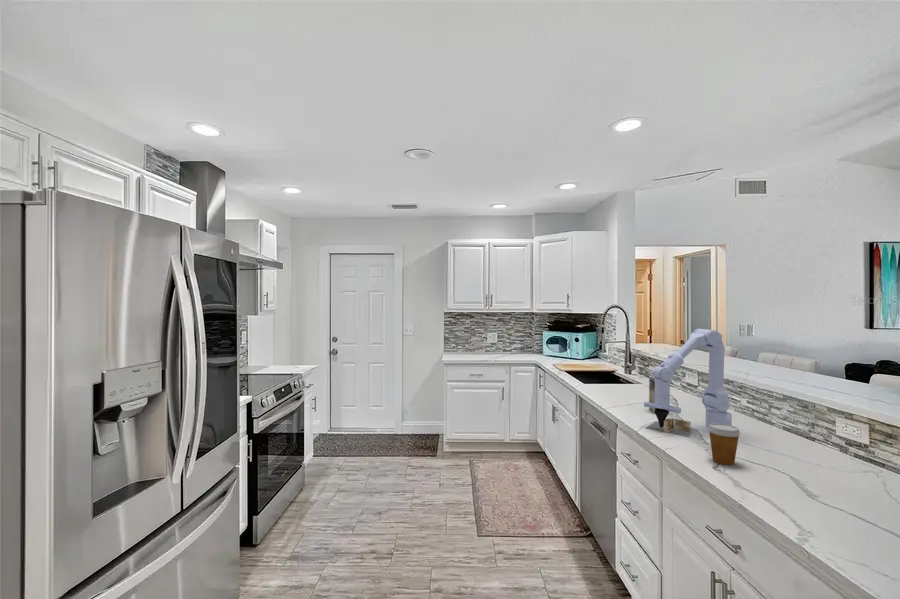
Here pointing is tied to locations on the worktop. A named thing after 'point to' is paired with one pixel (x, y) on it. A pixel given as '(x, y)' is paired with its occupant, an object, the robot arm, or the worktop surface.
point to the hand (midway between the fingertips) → (661, 426)
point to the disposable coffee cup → (723, 442)
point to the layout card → (673, 431)
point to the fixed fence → (682, 425)
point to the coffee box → (652, 393)
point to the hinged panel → (668, 424)
